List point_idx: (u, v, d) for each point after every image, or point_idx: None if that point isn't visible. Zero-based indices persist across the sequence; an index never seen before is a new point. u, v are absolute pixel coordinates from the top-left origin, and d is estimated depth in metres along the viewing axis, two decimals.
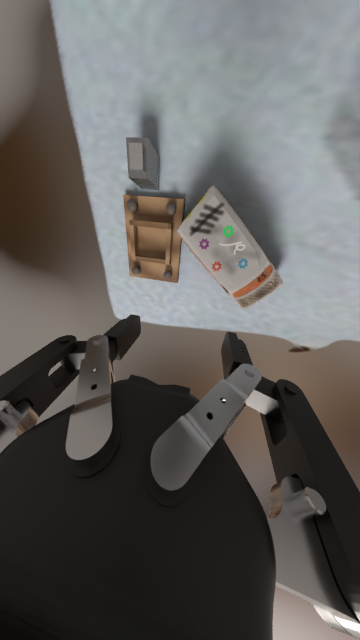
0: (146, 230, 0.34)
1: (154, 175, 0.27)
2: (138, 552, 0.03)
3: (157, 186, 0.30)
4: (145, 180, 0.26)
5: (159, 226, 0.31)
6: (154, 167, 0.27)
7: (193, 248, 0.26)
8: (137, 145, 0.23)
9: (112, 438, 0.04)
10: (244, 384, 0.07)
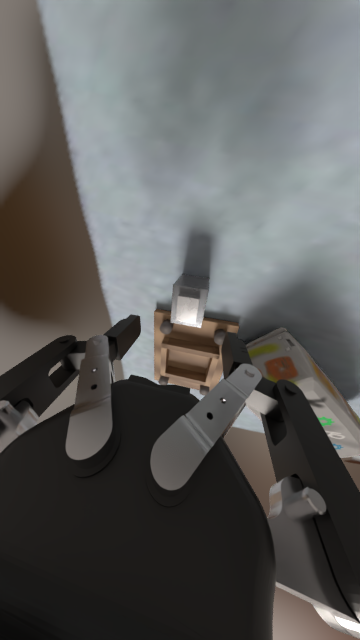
0: None
1: None
2: (138, 552, 0.03)
3: None
4: None
5: (202, 354, 0.23)
6: None
7: (260, 418, 0.19)
8: (191, 300, 0.15)
9: (112, 438, 0.04)
10: (244, 384, 0.07)
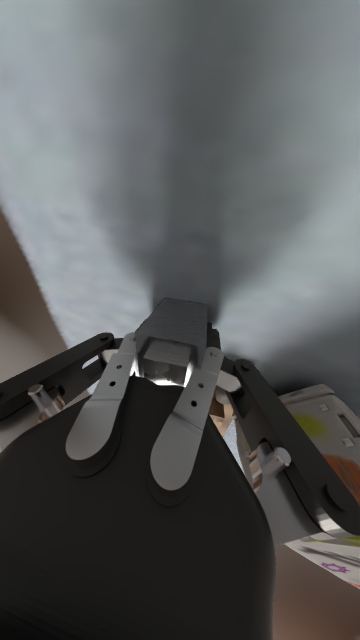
0: None
1: None
2: (138, 552, 0.03)
3: None
4: None
5: None
6: None
7: (296, 550, 0.11)
8: (170, 368, 0.07)
9: (112, 438, 0.04)
10: (212, 365, 0.08)
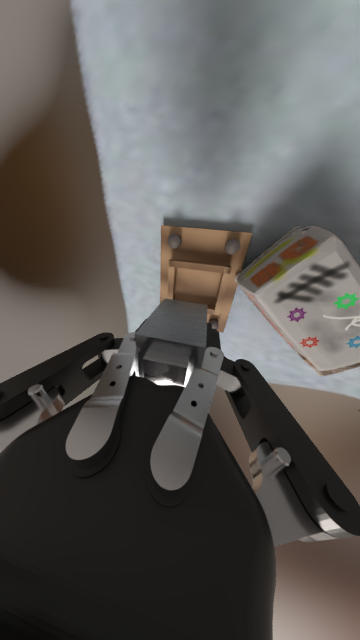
0: (189, 270, 0.25)
1: None
2: (138, 552, 0.03)
3: None
4: None
5: (213, 270, 0.22)
6: None
7: (275, 318, 0.18)
8: (170, 368, 0.07)
9: (112, 438, 0.04)
10: (212, 365, 0.08)
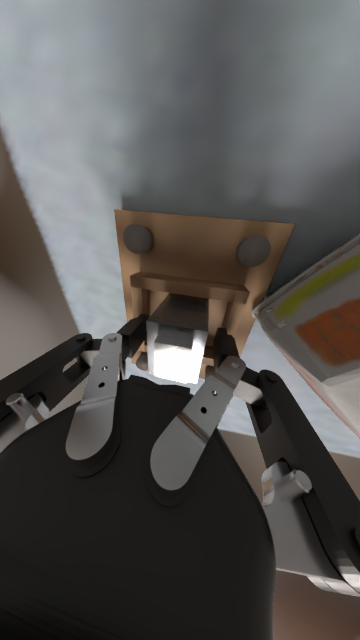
0: None
1: None
2: (138, 552, 0.03)
3: None
4: None
5: (213, 296, 0.11)
6: None
7: None
8: (177, 350, 0.09)
9: (112, 438, 0.04)
10: (231, 375, 0.07)
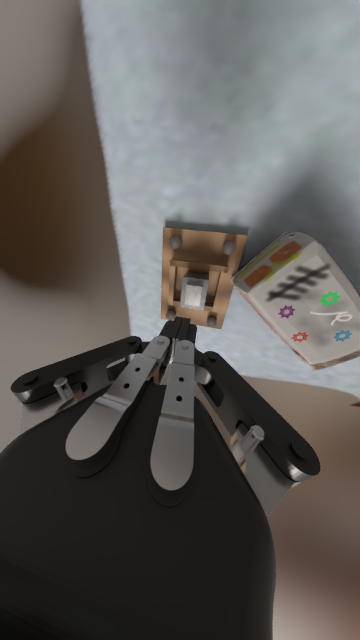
0: (189, 270, 0.26)
1: None
2: (138, 552, 0.03)
3: None
4: None
5: (211, 269, 0.23)
6: None
7: (267, 315, 0.19)
8: (196, 288, 0.21)
9: (112, 438, 0.04)
10: (186, 357, 0.08)
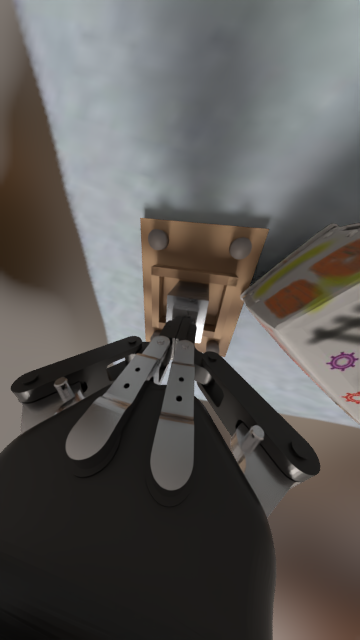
0: (180, 280, 0.18)
1: None
2: (138, 552, 0.03)
3: None
4: None
5: (212, 280, 0.16)
6: None
7: (306, 363, 0.12)
8: (188, 313, 0.13)
9: (112, 438, 0.04)
10: (186, 357, 0.08)
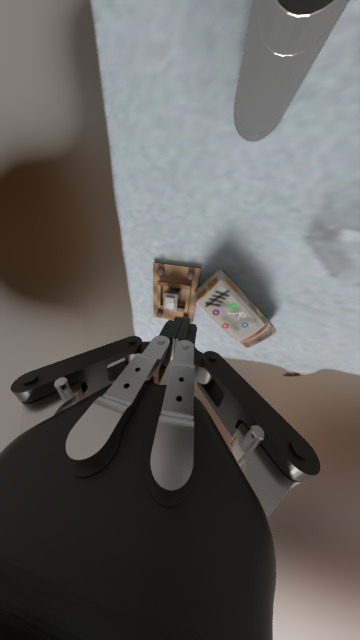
0: (169, 286, 0.43)
1: (178, 303, 0.42)
2: (138, 552, 0.03)
3: (179, 304, 0.44)
4: None
5: (181, 287, 0.40)
6: (179, 299, 0.41)
7: (207, 314, 0.36)
8: (170, 299, 0.38)
9: (112, 438, 0.04)
10: (186, 357, 0.08)
